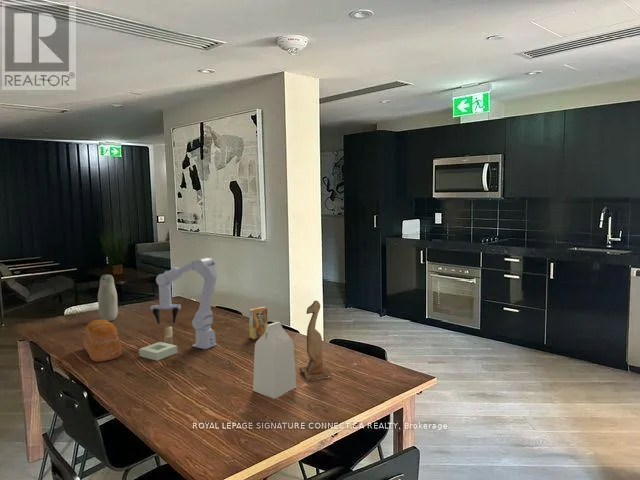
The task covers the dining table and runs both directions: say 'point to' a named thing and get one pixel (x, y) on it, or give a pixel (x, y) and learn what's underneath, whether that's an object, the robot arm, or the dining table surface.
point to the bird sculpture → (314, 348)
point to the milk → (274, 362)
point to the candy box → (257, 322)
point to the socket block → (158, 351)
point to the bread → (102, 340)
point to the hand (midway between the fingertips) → (166, 323)
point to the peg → (168, 335)
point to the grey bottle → (107, 298)
